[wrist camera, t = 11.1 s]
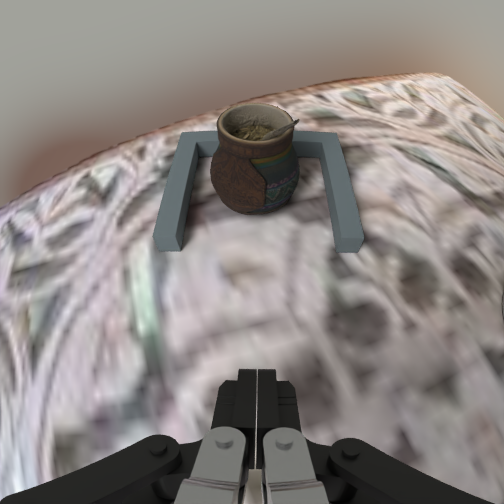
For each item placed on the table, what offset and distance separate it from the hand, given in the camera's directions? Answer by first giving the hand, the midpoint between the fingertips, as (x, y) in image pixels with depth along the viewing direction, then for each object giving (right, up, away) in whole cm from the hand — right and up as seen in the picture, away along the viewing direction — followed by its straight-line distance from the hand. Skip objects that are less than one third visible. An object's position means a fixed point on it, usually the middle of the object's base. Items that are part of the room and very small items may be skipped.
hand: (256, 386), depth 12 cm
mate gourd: (0, +10, +16) cm, 19 cm away
